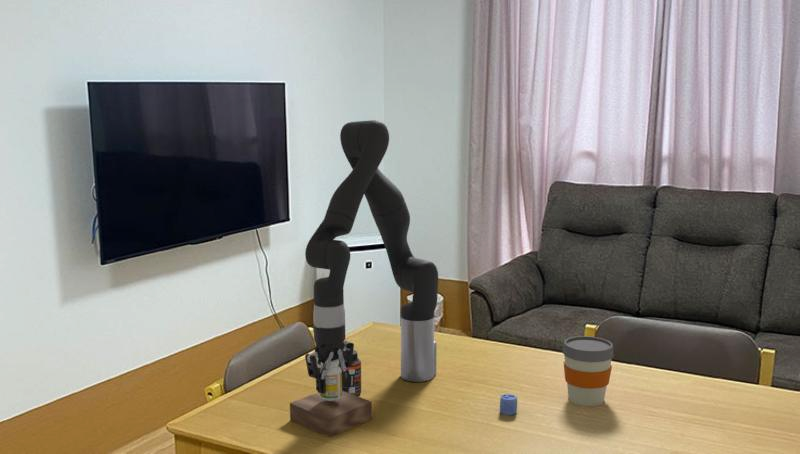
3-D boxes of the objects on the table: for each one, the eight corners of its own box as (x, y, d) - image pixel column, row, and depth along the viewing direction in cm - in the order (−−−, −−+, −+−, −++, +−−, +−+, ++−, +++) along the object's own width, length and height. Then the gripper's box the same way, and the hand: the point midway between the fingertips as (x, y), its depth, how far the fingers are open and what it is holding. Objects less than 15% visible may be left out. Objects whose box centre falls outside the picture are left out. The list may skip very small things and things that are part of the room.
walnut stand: (332, 403, 211) (332, 387, 211) (372, 419, 202) (371, 401, 201) (290, 420, 201) (289, 403, 200) (329, 437, 192) (328, 419, 191)
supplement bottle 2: (358, 398, 215) (357, 356, 213) (336, 396, 216) (335, 355, 214) (363, 389, 221) (363, 349, 219) (342, 388, 222) (341, 347, 220)
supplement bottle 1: (331, 403, 197) (330, 364, 195) (315, 397, 200) (314, 359, 199) (347, 396, 201) (346, 358, 199) (331, 391, 204) (330, 354, 203)
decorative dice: (515, 415, 204) (516, 400, 203) (499, 414, 204) (499, 399, 204) (517, 409, 208) (517, 394, 207) (501, 408, 208) (501, 393, 208)
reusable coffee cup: (615, 394, 217) (618, 339, 214) (605, 412, 206) (608, 354, 203) (567, 387, 222) (569, 333, 219) (556, 404, 211) (557, 347, 208)
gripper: (340, 312, 205) (341, 377, 208) (295, 325, 195) (297, 393, 198) (362, 318, 200) (363, 384, 203) (317, 332, 189) (318, 402, 193)
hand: (330, 388), depth 200 cm, fingers open, 5 cm apart
